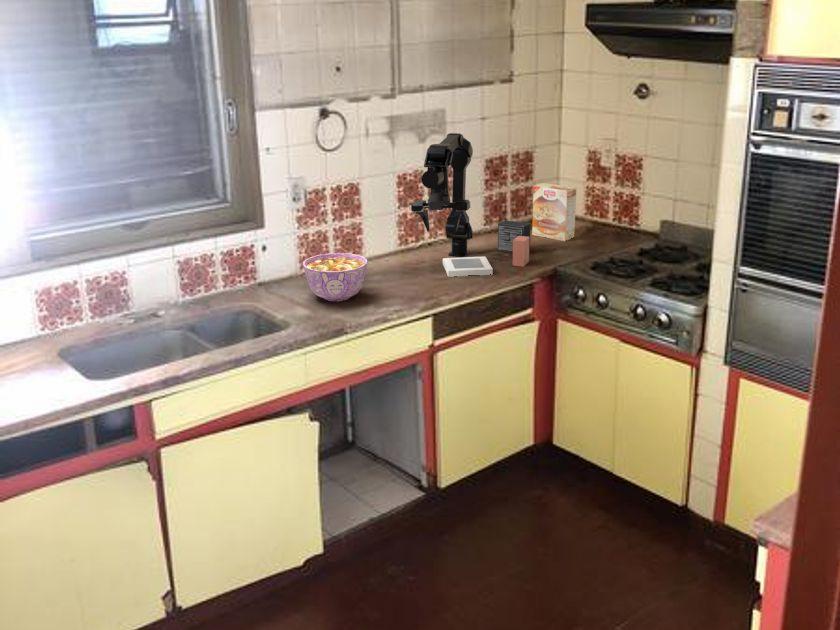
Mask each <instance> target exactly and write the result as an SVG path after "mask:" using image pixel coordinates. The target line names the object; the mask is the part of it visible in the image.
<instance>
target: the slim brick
mask: <svg viewBox="0 0 840 630" xmlns="http://www.w3.org/2000/svg"><path fill="white" fill-rule="evenodd" d="M529 262H530V251H529V237H526V236H518V237H516V238H515V239H514V240H513V253H512V266H517V267H525V266H526V265H527V264H528V263H529Z"/></svg>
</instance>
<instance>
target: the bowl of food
mask: <svg viewBox="0 0 840 630" xmlns="http://www.w3.org/2000/svg"><path fill="white" fill-rule="evenodd" d="M367 265H368V259H367V258H366V257H365V256H362V255H359V254H354V253H346V252H336V253H335V252H331V253H323V254H318V255H314V256H311V257H309V258H307V259H305V260H303V262H302V267H303V270H304V273H305V276H306V280H307V283H308V285H309V286H308V287H309V288H310V289H311V291H312V292H313V293H314V295H316V296H318V297H320V298H321V299H324V300H326V301H327V300H328V302H343V300H344V301H346V300H349V299H350V298H351V297H353V296H355V295H357V294H358V293H359V292H360V290H361V289H362V288H363V285H364V281H365V280H364V279H365V275H366V271H367Z"/></svg>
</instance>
